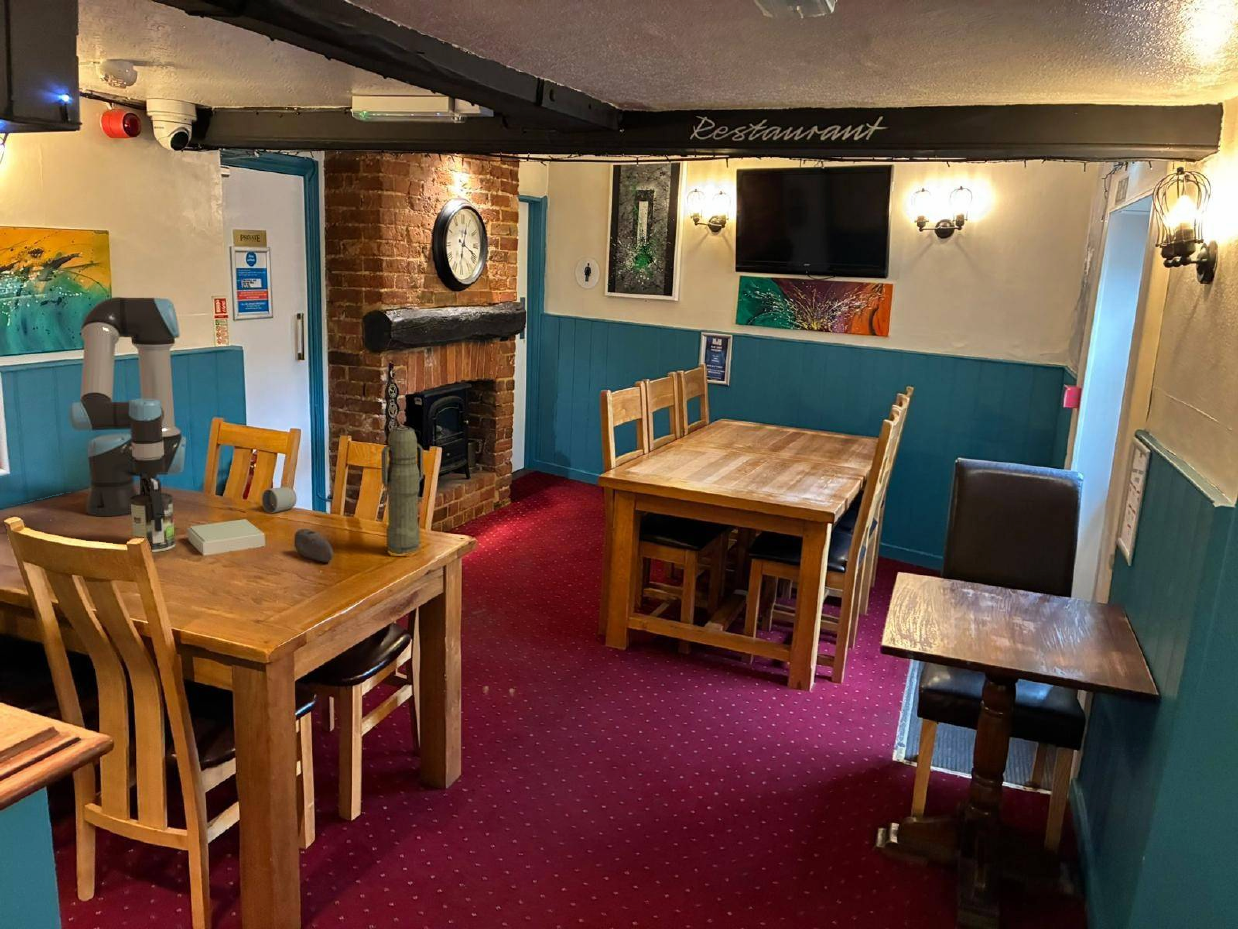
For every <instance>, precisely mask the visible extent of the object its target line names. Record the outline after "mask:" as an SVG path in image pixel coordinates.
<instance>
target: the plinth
mask: <svg viewBox="0 0 1238 929" xmlns="http://www.w3.org/2000/svg"><path fill="white" fill-rule="evenodd" d="M187 539H188V541H189V542H190V543H191V545H193V547H195V549H197V551H199V552H200V553H201V555H203V556H209V555H217V554H223V553H231V552H235V551H243V550H249V548H250V549H256V548H262V546H263V547H266V535H265V533H264V532H262V530H260V529H259V528H258V527H257V526H255V525H254V524H252V523H251V522H250V521H249V520H248V519H246V518H244V519H239V520H229V521H221V522H214V523H207V524H199V525H193V526H192V525H191V526H189V527H187ZM230 551H231V552H230Z"/></svg>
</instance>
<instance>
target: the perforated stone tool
mask: <svg viewBox="0 0 1238 929" xmlns="http://www.w3.org/2000/svg"><path fill="white" fill-rule="evenodd" d="M293 543H294V545H293V546H294V548H295V550H296V551H297V552H298V553H300V554H301V555H303V556H304V557H306V558H308V559H311V560H314V561H317V560H318V561H317V562H320V561H322V563H329V562H331V561H332V559H333V557H334V551H333V550H334V549H333V547H332V545H331V544H330V543H329V541H328V540H327V539H326V538H325V537H323V536H322V535H321V534H320V533H318V532H316V531H313V530H311V529H309V528H300V529H298V530H297V531H296V532H295V534H294V542H293Z"/></svg>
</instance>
